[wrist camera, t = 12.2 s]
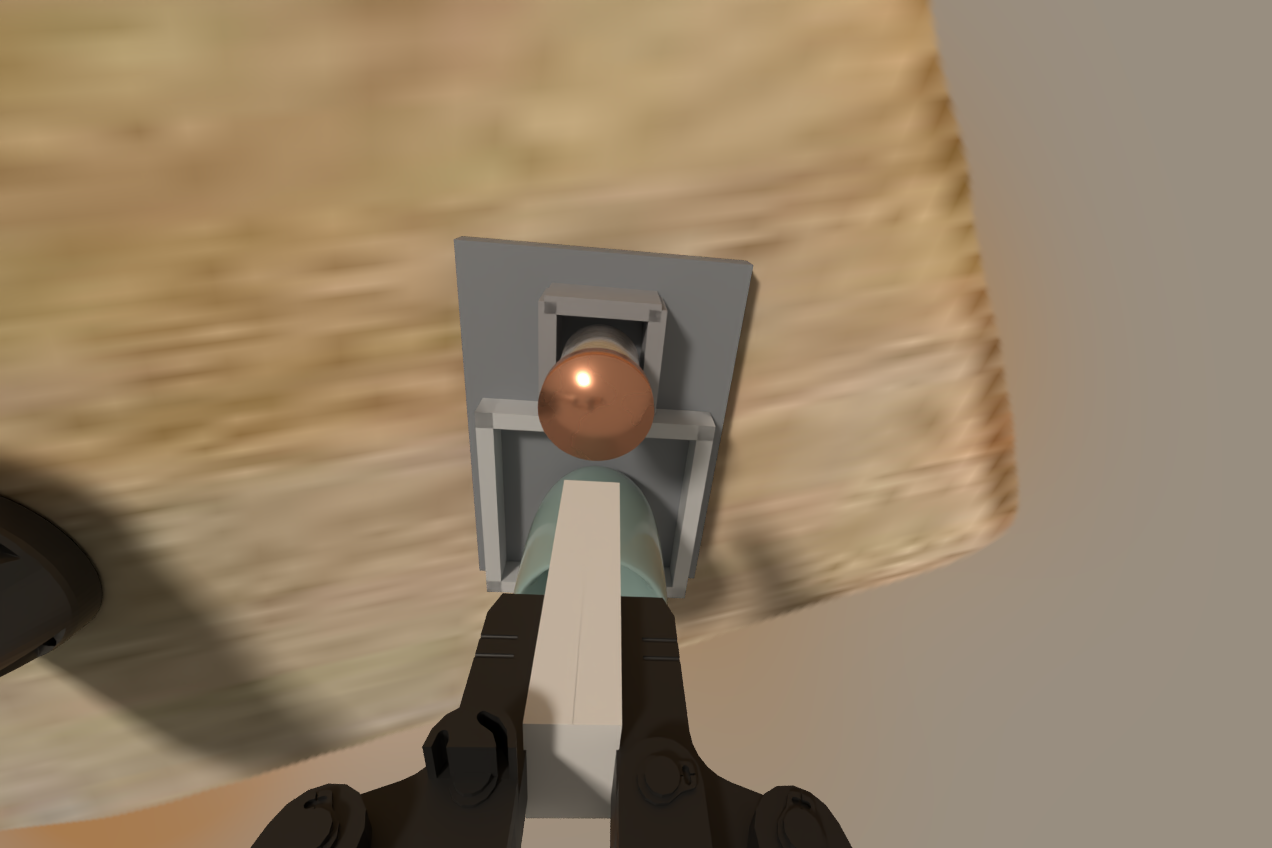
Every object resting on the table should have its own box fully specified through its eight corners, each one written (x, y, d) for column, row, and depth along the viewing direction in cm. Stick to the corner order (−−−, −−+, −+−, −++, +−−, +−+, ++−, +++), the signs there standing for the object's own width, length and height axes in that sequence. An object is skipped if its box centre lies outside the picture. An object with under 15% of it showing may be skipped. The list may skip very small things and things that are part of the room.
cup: (591, 426, 31) (581, 528, 22) (676, 494, 33) (699, 610, 24) (515, 501, 33) (478, 621, 24) (601, 559, 36) (596, 686, 27)
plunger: (553, 400, 26) (537, 457, 21) (554, 312, 24) (537, 351, 19) (641, 406, 27) (648, 463, 21) (650, 319, 24) (660, 360, 19)
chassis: (484, 556, 37) (467, 604, 33) (461, 236, 27) (433, 247, 23) (691, 564, 38) (700, 611, 34) (746, 260, 28) (769, 275, 24)
